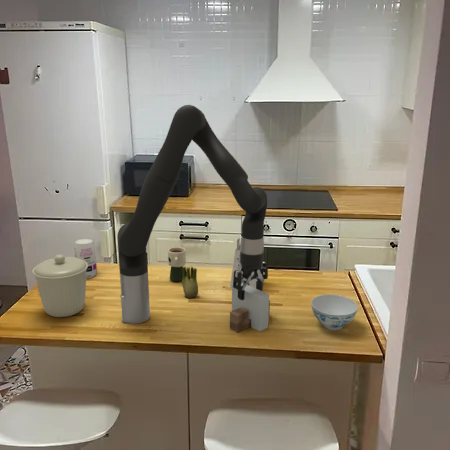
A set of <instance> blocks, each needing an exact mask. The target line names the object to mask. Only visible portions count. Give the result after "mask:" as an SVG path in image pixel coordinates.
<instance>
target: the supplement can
mask: <svg viewBox="0 0 450 450" xmlns="http://www.w3.org/2000/svg"><path fill="white" fill-rule="evenodd" d="M73 249H74V257H75V258H79V259H81V260H84V261H86V262H87V263H88V268H87V269H86V279H92V278H94V277H95V276H96V275H97V274H98V267H97V256H96V255H97V254H96V243H95V242H94V240H93V239H92V238H79V239H77V240H76V241H74V244H73Z"/></svg>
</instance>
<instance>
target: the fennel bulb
mask: <svg viewBox="0 0 450 450" xmlns="http://www.w3.org/2000/svg"><path fill="white" fill-rule="evenodd" d="M182 270H183V280H181V282H182V289H183V293H184V295H185V297H186V298H189V299H191V298H195V297H197V295H198V294H199V284H198V281H197V280H198V279H197V271H198V268H197V267H194V266H186V265H184V266H183V267H182Z"/></svg>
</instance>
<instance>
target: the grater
mask: <svg viewBox="0 0 450 450" xmlns="http://www.w3.org/2000/svg"><path fill="white" fill-rule="evenodd" d="M240 244H241V236H239V238H238V239H237V240H236V248H235V249H234V256H233V264H232V270H231V271H232V272H231V276H230V277H231V278H230V284H229V289H232V285H233V278H234V271H235V270H236V271H240V270H241V268H242V265H241V263H240ZM243 280H245V281H246V279H245V278H243ZM256 281H257V280H256V279H253V280H251V281H250V282H249V284H247V285H248V286H251V287H253V288H255V289H256Z"/></svg>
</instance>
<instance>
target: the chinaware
mask: <svg viewBox="0 0 450 450" xmlns="http://www.w3.org/2000/svg"><path fill="white" fill-rule="evenodd" d="M310 305H311V309H312V313H313V315H314V317H315V319H317V320H318V322H319V323H321V325H322V326H323V327H324V328H325V329H327V330H331V331H338V330H341V329H343V327H345V326H347V325H349V323H351V322H352V321H353V320H354V318H355V317H356V314H357V312H358V308H359V307H358V304H357V303H356V302H355V301H354V300H353V299H351V298H349V297H346V296H344V295H339V294H332V293H331V294H327V293H326V294H321V295H317V296H315V297H313V298H312V299H311V302H310Z"/></svg>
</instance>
